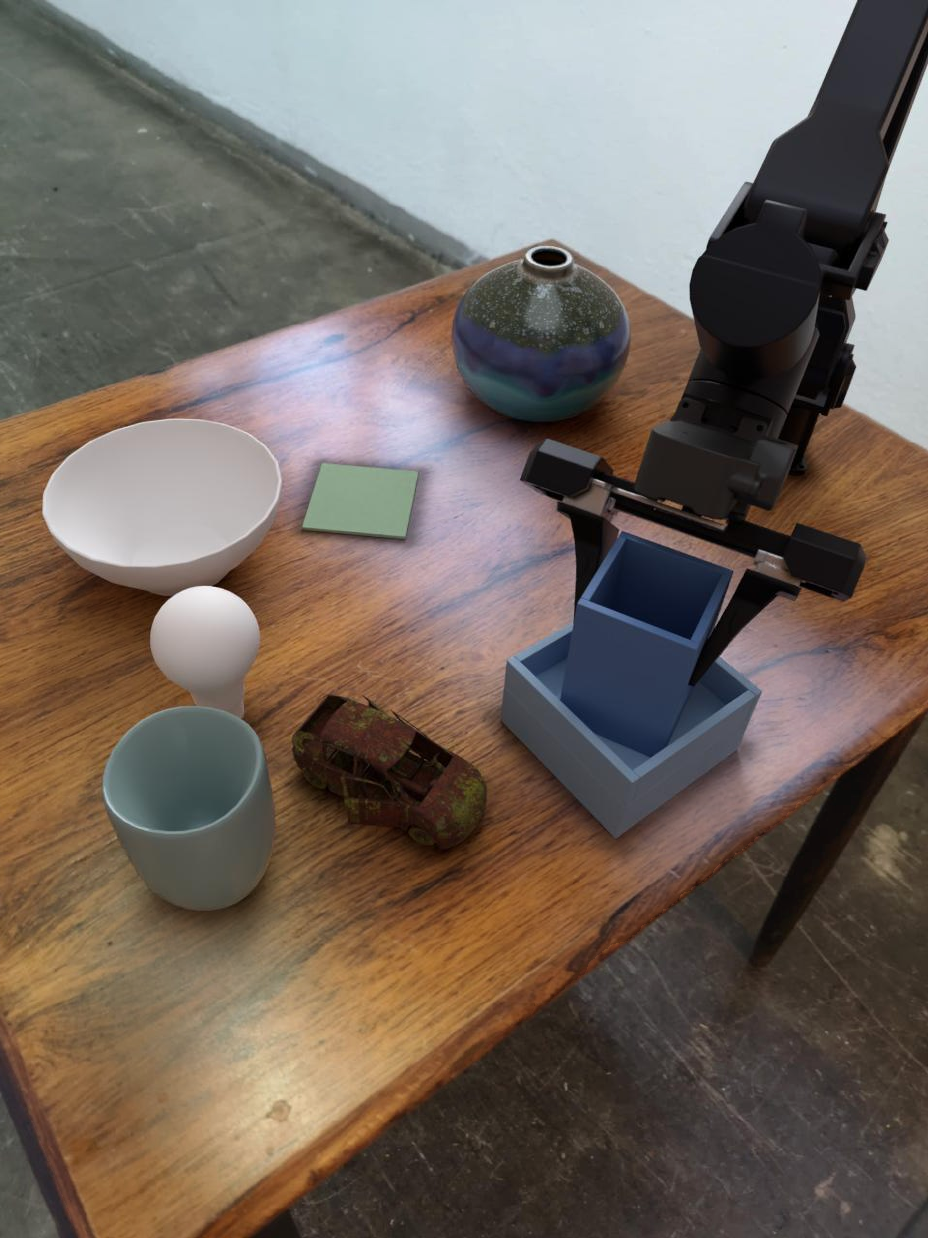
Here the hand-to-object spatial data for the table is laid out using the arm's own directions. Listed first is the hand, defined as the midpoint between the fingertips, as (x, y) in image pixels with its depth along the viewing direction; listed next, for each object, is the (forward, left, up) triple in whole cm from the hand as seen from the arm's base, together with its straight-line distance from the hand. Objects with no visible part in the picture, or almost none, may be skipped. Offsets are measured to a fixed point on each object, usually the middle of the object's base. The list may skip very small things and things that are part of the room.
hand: (632, 662), depth 54 cm
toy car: (+13, +5, -9) cm, 17 cm away
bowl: (+31, -13, -9) cm, 35 cm away
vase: (+6, -38, -9) cm, 40 cm away
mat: (+19, -22, -9) cm, 30 cm away
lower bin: (-1, -1, -9) cm, 9 cm away
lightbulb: (+24, +1, -9) cm, 26 cm away
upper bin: (-1, -1, -5) cm, 5 cm away
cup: (+22, +11, -9) cm, 26 cm away
